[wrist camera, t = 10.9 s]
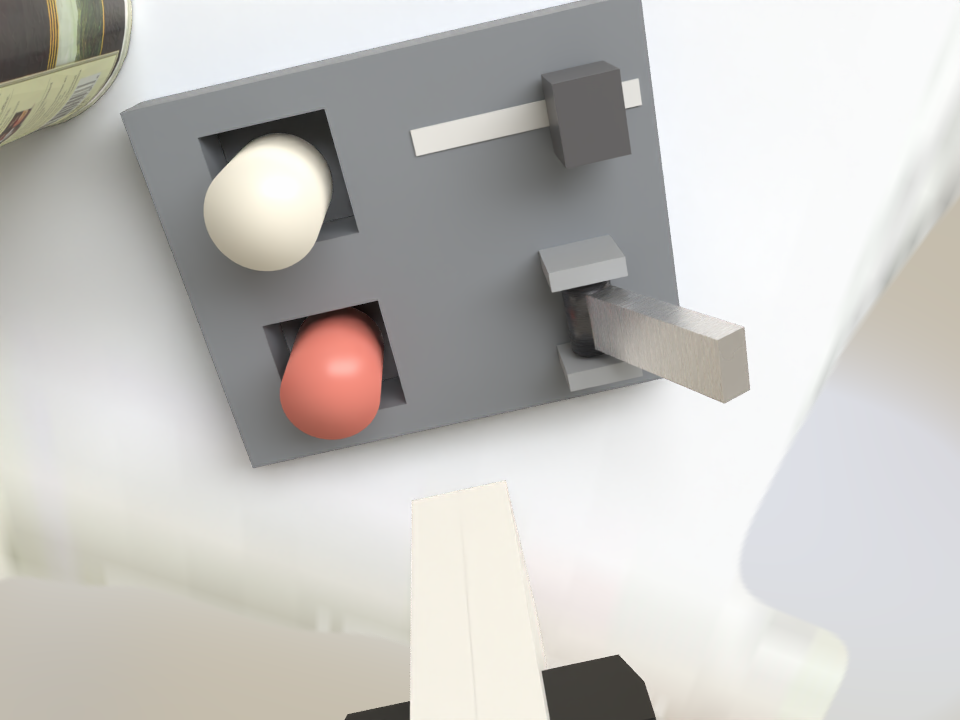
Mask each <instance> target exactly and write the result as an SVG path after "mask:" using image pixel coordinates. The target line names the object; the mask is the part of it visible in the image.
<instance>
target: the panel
mask: <svg viewBox="0 0 960 720" xmlns="http://www.w3.org/2000/svg"><path fill="white" fill-rule="evenodd" d="M602 60H603V61H605V62H607V63H609V64H611V65H613V66H615V67H617V68H619V69H620V74H621V82H622V89H623V96H624V103H625V111H626V118H627V125H628V132H629V139H630V147H631V154H630V155H626V156H621V157H617V158H612V159H608V160H604V161H599V162H595V163H590V164H586V165H582V166H577V167H573V168H568V169H566V168H565V167H564V165H563V164H562V162H561V161H560V160H559V158H558V157H557V156H556V154H555V153H554V148H553V142H552V136H551V131H550V125H549V119H548V113H547V108H546V102H545V96H544V91H543V85H542V79H541V74H545V73H550V72H554V71H558V70H563V69H567V68H571V67H576V66H580V65H585V64H589V63H593V62H598V61H602ZM321 109H325V113H326V116H327V120H328V123H329V127H330V131H331V134H332V138H333V141H334V145H335V149H336V152H337V156H338V159H339V163H340V166H341V170H342V174H343V177H344V181H345V184H346V188H347V192H348V195H349V199H350V202H351V206H352V210H353V213H354V216H350V217H346V218H342V219H337V220H333V221H328V222H324V223H322V226H321V229H320V232H319V234H318V237H317V240H316V242H315V244H314V246H313V247H312V249H311V250H310V252H309V253H308V254H307V255H306V256H305V257H304V258H303V259H301V260H300V261H299V262H297V263H295V264H294V265H292V266H290V267H287V268H284V269H281V270H275V271H258V270H253V269H249V268H246V267H243V266H241V265H239V264H237V263H235V262H233V261H232V260H230V259H229V258H228V257H226V256H225V255H224V254H223V253H222V252H221V251H220V250H219V249H218V248H217V246H216V245H215V244H214V242H213V241H212V239H211V237H210V235H209V233H208V231H207V228H206V225H205V220H204V200H205V196H206V193H207V190H208V188H209V186H210V184H211V183H212V181H213V180H214V178H215V177H216V176H217V175H218V174H219V173H220V172H221V171H222V170H223V169H224V167H225V166H226V165H227V162H226V159H225V156H224V153H223V150H222V147H221V144H220V141H219V138H218V135H217V133H221V132H225V131H230V130H234V129H239V128H243V127H247V126H252V125H256V124H260V123H265V122H269V121H273V120H278V119H282V118H286V117H291V116H295V115H299V114H304V113H308V112H312V111H317V110H321ZM120 115H121V117H122V120H123V123H124V125H125V128H126V131H127V133H128V136H129V139H130V141H131V144H132V147H133V149H134V152H135V155H136V157H137V160H138V163H139V165H140V168H141V171H142V173H143V176H144V179H145V181H146V184H147V187H148V189H149V192H150V195H151V197H152V200H153V203H154V205H155V208H156V211H157V213H158V216H159V219H160V221H161V224H162V227H163V229H164V232H165V235H166V237H167V240H168V243H169V245H170V248H171V251H172V253H173V256H174V259H175V261H176V264H177V267H178V269H179V272H180V275H181V277H182V280H183V283H184V285H185V288H186V291H187V293H188V296H189V299H190V301H191V304H192V307H193V309H194V312H195V315H196V317H197V320H198V323H199V325H200V328H201V331H202V333H203V336H204V339H205V341H206V344H207V347H208V349H209V352H210V355H211V357H212V360H213V363H214V365H215V368H216V371H217V373H218V376H219V379H220V381H221V384H222V387H223V389H224V392H225V395H226V397H227V400H228V403H229V405H230V408H231V411H232V413H233V416H234V419H235V421H236V424H237V427H238V429H239V432H240V435H241V437H242V440H243V443H244V445H245V448H246V451H247V453H248V456H249V459H250V461H251V464H252V467H253V468H256V467H260V466H265V465H269V464H274V463H278V462H283V461H288V460H292V459H297V458H301V457H306V456H310V455H315V454H319V453H324V452H329V451H333V450H338V449H342V448H347V447H351V446H356V445H361V444H365V443H370V442H374V441H379V440H383V439H388V438H392V437H397V436H402V435H406V434H411V433H415V432H420V431H424V430H429V429H433V428H438V427H443V426H447V425H452V424H456V423H461V422H465V421H470V420H474V419H479V418H484V417H488V416H493V415H497V414H502V413H506V412H511V411H516V410H520V409H525V408H529V407H534V406H538V405H543V404H547V403H552V402H557V401H561V400H566V399H570V398H575V397H579V396H584V395H588V394H593V393H598V392H602V391H607V390H611V389H616V388H620V387H625V386H630V385H634V384H639V383H643V382H648V381H652V380H657V379H661V378H663V377H660V376H658V375H655V374H653V373H651V372H648V371H646V370H643V369H641V368H639V367H636V366H634V365H632V364H629V363H627V362H624V361H622V360H620V359H617V358H615V357H613V356H610V355H608V354H602V355H597V356H581V355H577V354H575V353H574V352H573V351H572V346H571V341H570V335H569V330H568V324H567V319H566V313H565V308H564V302H563V297H562V292H561V291H562V290H567V289H571V288H576V287H580V286H585V285H589V284H594V283H598V282H602V281H607V280H610V283H611V285H613V286H616V287H619V288H622V289H626V290H629V291H632V292H635V293H638V294H641V295H645V296H648V297H651V298H654V299H657V300H661V301H664V302H667V303H670V304H673V305H676V306H679V299H678V291H677V283H676V275H675V267H674V259H673V251H672V243H671V235H670V227H669V219H668V211H667V203H666V194H665V186H664V178H663V170H662V162H661V154H660V146H659V138H658V130H657V122H656V114H655V106H654V98H653V90H652V82H651V74H650V66H649V58H648V50H647V42H646V34H645V26H644V18H643V10H642V2H641V0H581V1H576V2H572V3H568V4H563V5H559V6H555V7H550V8H546V9H542V10H537V11H533V12H529V13H525V14H520V15H516V16H512V17H507V18H503V19H499V20H494V21H490V22H486V23H481V24H477V25H473V26H468V27H464V28H460V29H455V30H451V31H447V32H442V33H438V34H434V35H429V36H425V37H421V38H416V39H412V40H408V41H403V42H399V43H395V44H391V45H386V46H382V47H378V48H373V49H369V50H365V51H360V52H356V53H352V54H347V55H343V56H339V57H334V58H330V59H326V60H321V61H317V62H313V63H308V64H304V65H300V66H295V67H291V68H287V69H282V70H278V71H274V72H269V73H265V74H261V75H257V76H252V77H248V78H244V79H239V80H235V81H231V82H226V83H222V84H218V85H213V86H209V87H205V88H200V89H196V90H192V91H187V92H183V93H179V94H174V95H170V96H166V97H161V98H157V99H153V100H148V101H144V102H141V103H139V104H137V105H135V106H133V107H131V108H129V109H127V110H125V111H123V112H121V113H120ZM373 301H378V303H379V306H380V310H381V314H382V317H383V321H384V324H385V328H386V331H387V335H388V339H389V342H390V346H391V349H392V353H393V357H394V360H395V364H396V367H397V371H398V374H399V377H396V378H391V379H387V380H382V383H381V396H380V405H379V409H378V411H377V414H376V416H375V417H374V419H373V420H372V422H371V423H370V424H369V425H368V426H367V427H366V428H365V429H363V430H362V431H361V432H359V433H357V434H355V435H353V436H350V437H347V438H344V439H337V440H327V439H320V438H316V437H313V436H310V435H308V434H306V433H304V432H303V431H301V430H299V429H298V428H297V427H296V426H295V425H293V424H292V423H291V421H290V420H289V419H288V418H287V416H286V414H285V413H284V410H283V408H282V405H281V401H280V386H281V382H282V379H283V376H284V373H285V370H286V366H287V363H288V360H289V357H290V352H289V349H288V346H287V343H286V340H285V337H284V334H283V331H282V328H281V325H280V322H284V321H288V320H293V319H297V318H302V317H306V316H310V315H315V314H319V313H324V312H328V311H333V310H337V309H342V308H346V307H351V306H355V305H360V304H364V303H369V302H373Z"/></svg>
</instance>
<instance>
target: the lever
mask: <svg viewBox="0 0 960 720" xmlns="http://www.w3.org/2000/svg"><path fill="white" fill-rule="evenodd" d="M561 292H562V297H563V302H564V308H565V313H566V319H567V324H568V330H569V335H570V341H571V346H572V351H573V352H574V353H575V354H577V355H581V356H597V355H602V354H608V355H610V356H613V357H615V358H617V359H620V360H622V361H624V362H627V363H629V364H632V365H634V366H636V367H639V368H641V369H643V370H646V371H648V372H651V373H653V374H655V375H658V376H660V377H663V378H665V379H667V380H670V381H672V382H674V383H677V384H679V385H682V386H684V387H686V388H689V389H691V390H693V391H696V392H698V393H701V394H703V395H705V396H708V397H710V398H712V399H715V400H717V401H720V402H722V403H724V404H725V403H726V402H728V401H730V400H732V399H734V398H736V397H738V396H739V395H741V394H743V393H745V392H747V391H749V390H750V384H749V373H748V363H747V352H746V341H745V330H744V327H743V326H740V325H737V324H734V323H730V322H727V321H724V320H721V319H718V318H715V317H711V316H708V315H705V314H702V313H699V312H695V311H692V310H689V309H686V308H683V307H680V306H676V305H673V304H670V303H667V302H664V301H661V300H657V299H654V298H651V297H648V296H645V295H641V294H638V293H635V292H632V291H629V290H626V289H622V288H619V287H616V286H613V285H611V283H610V280H607V281H602V282H598V283H594V284H589V285H585V286H580V287H576V288H571V289H567V290H562V291H561Z"/></svg>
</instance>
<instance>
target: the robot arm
mask: <svg viewBox="0 0 960 720" xmlns="http://www.w3.org/2000/svg"><path fill="white" fill-rule="evenodd" d="M410 657H411V658H410V701H408V702H404V703H399V704H394V705H390V706H385V707H380V708H375V709H370V710H366V711H361V712H356V713H352V714H348V715H347V717H346V718H345V720H656V717H655V714H654V711H653V708H652V705H651V701H650V698H649V695H648V692H647V689H646V686H645V683H644V681H643V680H642V679H641V678H640V677H639V676H638V675H637V674H636V673H635V672H634V670H633V669H632V668H631V667H630V666H629V665H628V664H627V663H626V662H625V661H624V660H623V659H622V658H621V657H620V656H619V655H614V656H609V657H605V658H600V659H595V660H590V661H586V662H581V663H576V664H572V665H567V666H562V667H557V668H553V669H548V670H547V664H546V659H545V653H544V648H543V643H542V637H541V632H540V627H539V621H538V616H537V611H536V607H535V603H534V599H533V594H532V590H531V586H530V582H529V577H528V573H527V569H526V565H525V560H524V556H523V552H522V548H521V543H520V539H519V535H518V531H517V526H516V522H515V518H514V514H513V509H512V505H511V501H510V497H509V492H508V488H507V484H506V480H505V481H500V482H495V483H491V484H486V485H482V486H477V487H472V488H468V489H463V490H459V491H454V492H449V493H445V494H440V495H436V496H431V497H426V498H422V499H417V500H413V501H412V531H411V653H410Z"/></svg>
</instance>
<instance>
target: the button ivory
mask: <svg viewBox="0 0 960 720" xmlns="http://www.w3.org/2000/svg"><path fill="white" fill-rule="evenodd" d="M332 192H333V181H332V175H331V171H330V169H329V166H328V164H327V162H326V160H325V159H324V157H323V156H322V154H321V153H320V152H319V151H318V150H317V149H316V148H315V147H314V146H313V145H312V144H310V143H309V142H307V141H306V140H304V139H302V138H300V137H297V136H295V135H291V134H287V133H270V134H265V135H262V136H259V137H257V138H255V139H253V140H252V141H250V142H249V143H248V144H247V145H245V146H244V147H243V148H242V149H241V151H240V152H239V153H238V154H237V155H236V156H235V157H234V158H233V159H232V160H231V161H230V162H229V163H228V164H227V165H226V166H225V167H224V169H223V170H222V171H221V172H220V173H219V174H218V175H217V176H216V177H215V178H214V180H213V181H212V183H211V184H210V186H209V188H208V190H207V193H206V196H205V200H204V220H205V225H206V228H207V231H208V233H209V235H210V237H211V239H212V241H213V242H214V244H215V245H216V246H217V248H218V249H219V250H220V251H221V252H222V253H223V254H224V255H225V256H226V257H228V258H229V259H230V260H232V261H233V262H235V263H237V264H239V265H241V266H243V267H246V268H249V269H253V270H258V271H275V270H281V269H284V268H287V267H290V266H292V265H294V264H295V263H297V262H299V261H300V260H301V259H303V258H304V257H305V256H306V255H307V254H308V253H309V252H310V250H311V249H312V247H313V246H314V244H315V242H316V240H317V237H318V234H319V232H320V229H321V226H322V223H323V221H324V218H325V215H326V212H327V209H328V207H329V204H330V201H331V198H332Z"/></svg>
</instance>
